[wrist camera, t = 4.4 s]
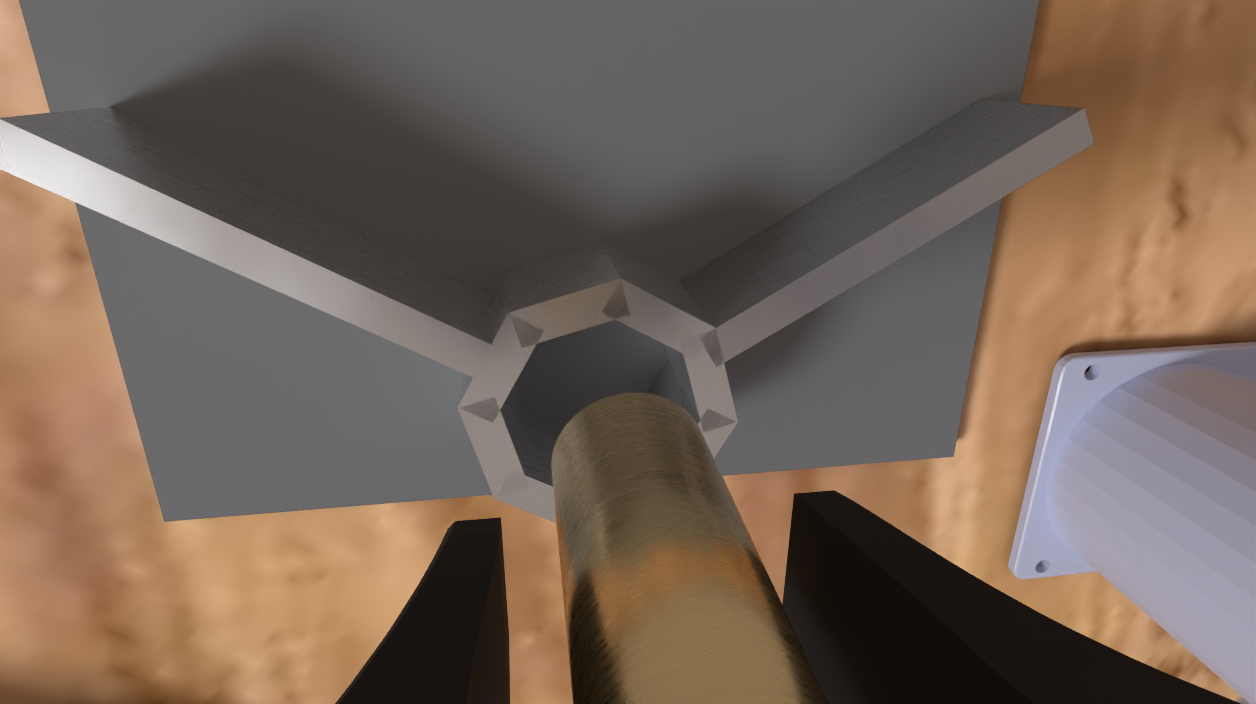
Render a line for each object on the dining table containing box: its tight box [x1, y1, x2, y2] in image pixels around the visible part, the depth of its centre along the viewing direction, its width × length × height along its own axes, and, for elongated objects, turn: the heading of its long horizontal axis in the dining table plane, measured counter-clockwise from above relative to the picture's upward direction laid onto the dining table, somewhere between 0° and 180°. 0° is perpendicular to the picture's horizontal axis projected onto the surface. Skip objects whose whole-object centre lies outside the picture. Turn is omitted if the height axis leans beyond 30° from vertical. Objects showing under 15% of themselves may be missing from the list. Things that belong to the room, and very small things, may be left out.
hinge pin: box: [551, 393, 828, 704], centre depth 9 cm, size 4×4×8 cm
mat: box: [19, 0, 1039, 522], centre depth 17 cm, size 22×20×1 cm
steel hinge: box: [0, 100, 1094, 523], centre depth 15 cm, size 18×13×4 cm
